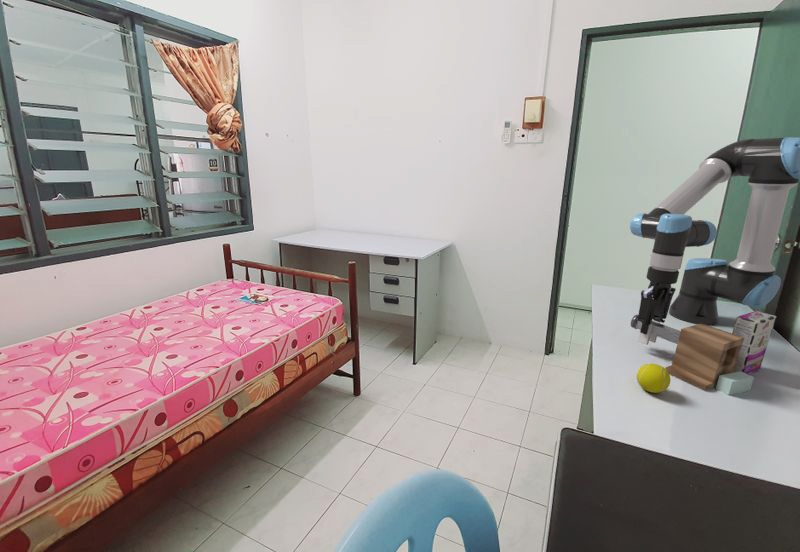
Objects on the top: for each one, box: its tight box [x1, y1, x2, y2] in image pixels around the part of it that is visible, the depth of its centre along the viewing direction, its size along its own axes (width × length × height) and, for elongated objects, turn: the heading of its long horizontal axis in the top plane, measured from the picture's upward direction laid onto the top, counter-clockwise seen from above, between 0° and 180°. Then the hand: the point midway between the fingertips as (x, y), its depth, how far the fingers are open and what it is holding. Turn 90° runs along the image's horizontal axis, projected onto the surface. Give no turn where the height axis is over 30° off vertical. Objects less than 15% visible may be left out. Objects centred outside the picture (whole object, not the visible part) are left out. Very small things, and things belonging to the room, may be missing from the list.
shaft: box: [630, 314, 681, 345], centre depth 112 cm, size 4×21×4 cm, turn 27°
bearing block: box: [664, 323, 744, 391], centre depth 104 cm, size 16×10×12 cm, turn 117°
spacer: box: [715, 372, 755, 396], centre depth 99 cm, size 8×4×3 cm
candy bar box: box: [732, 310, 777, 375], centre depth 107 cm, size 11×5×16 cm, turn 117°
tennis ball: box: [636, 362, 671, 394], centre depth 96 cm, size 7×7×7 cm
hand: (646, 341), depth 118 cm, fingers closed on shaft, 3 cm apart
